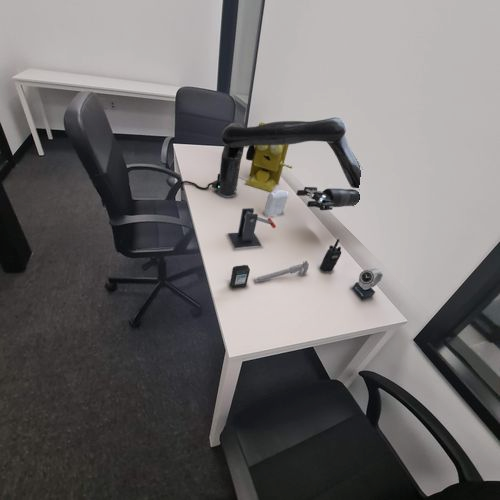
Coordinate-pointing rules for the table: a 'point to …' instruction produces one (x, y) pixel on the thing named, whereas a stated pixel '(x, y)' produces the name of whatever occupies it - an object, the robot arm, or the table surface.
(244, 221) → the stand
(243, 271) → the ink cartridge
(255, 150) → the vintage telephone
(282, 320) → the table surface
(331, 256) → the two-way radio
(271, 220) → the lever
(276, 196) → the photo printer
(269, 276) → the caliper
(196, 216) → the table surface
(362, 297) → the watch
